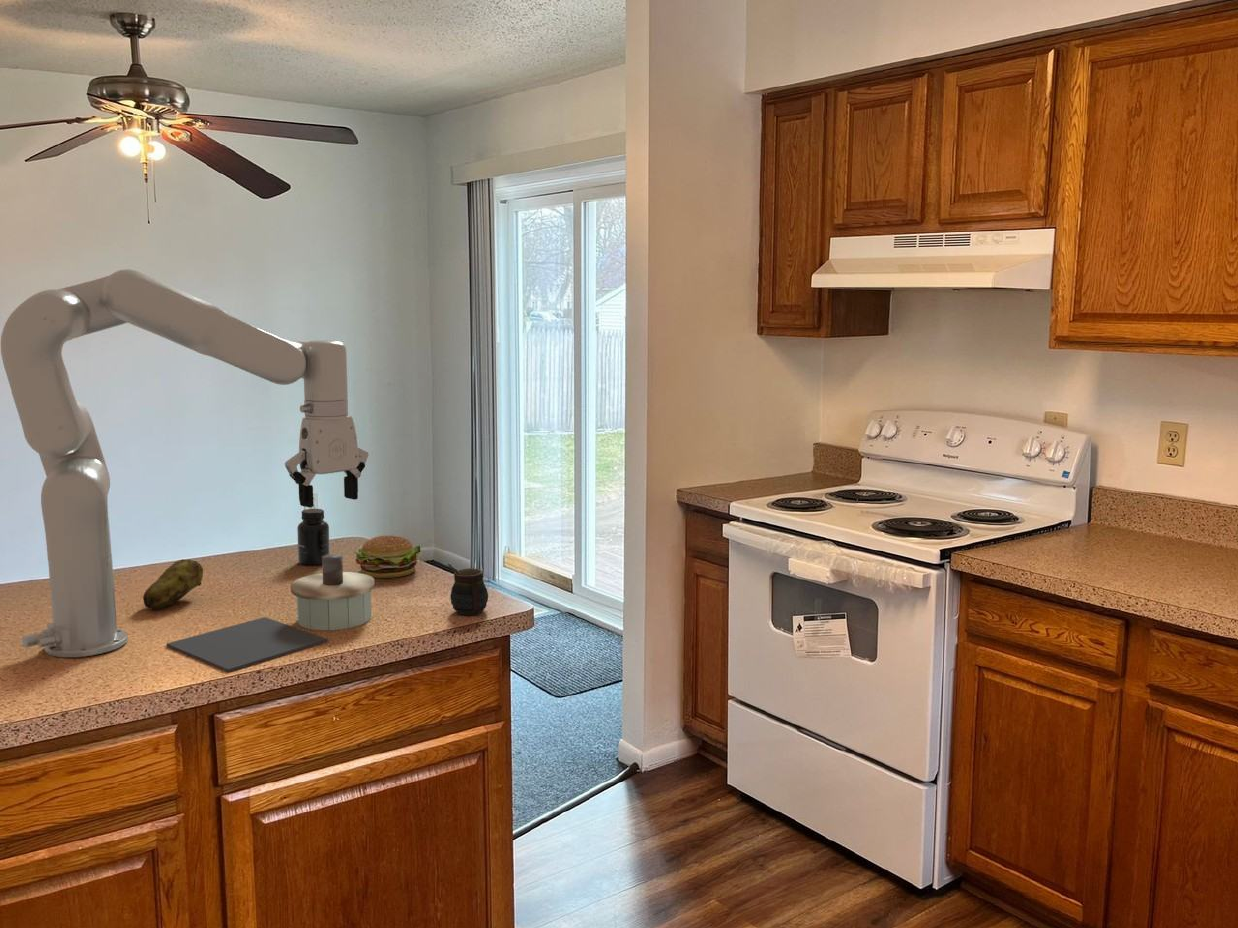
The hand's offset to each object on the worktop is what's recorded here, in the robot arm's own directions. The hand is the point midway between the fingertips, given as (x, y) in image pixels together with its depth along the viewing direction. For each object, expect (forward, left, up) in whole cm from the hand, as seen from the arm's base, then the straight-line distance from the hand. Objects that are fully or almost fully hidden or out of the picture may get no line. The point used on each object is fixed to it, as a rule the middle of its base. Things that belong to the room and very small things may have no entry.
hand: (329, 502), depth 186 cm
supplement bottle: (+22, +37, -23) cm, 48 cm away
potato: (-14, +32, -23) cm, 41 cm away
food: (+27, +18, -23) cm, 40 cm away
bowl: (0, 0, -22) cm, 22 cm away
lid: (0, 0, -16) cm, 16 cm away
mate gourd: (+19, -16, -23) cm, 34 cm away
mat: (-18, 0, -22) cm, 29 cm away
